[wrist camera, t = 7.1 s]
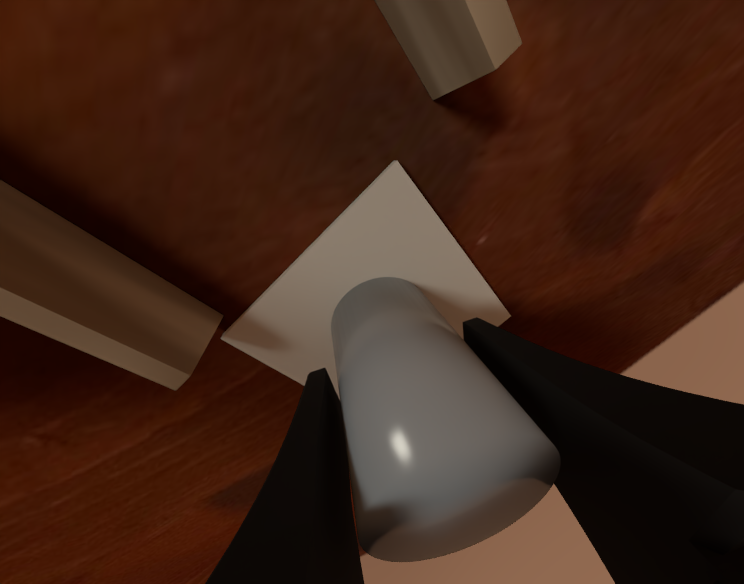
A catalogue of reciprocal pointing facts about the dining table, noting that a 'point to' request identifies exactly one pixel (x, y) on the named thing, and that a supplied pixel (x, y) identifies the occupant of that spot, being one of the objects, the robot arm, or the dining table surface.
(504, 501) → the grey domed cylinder
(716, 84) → the dining table surface
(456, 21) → the frame
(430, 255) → the coaster
